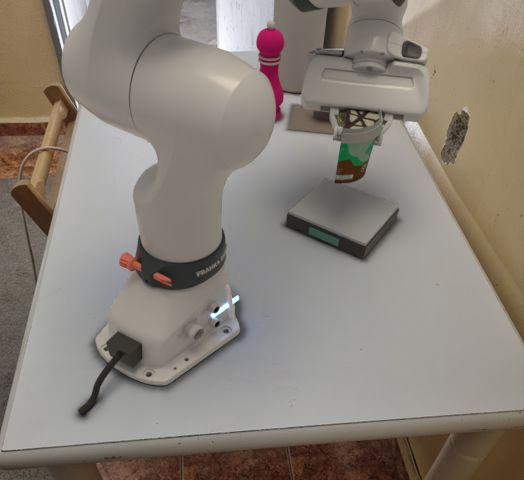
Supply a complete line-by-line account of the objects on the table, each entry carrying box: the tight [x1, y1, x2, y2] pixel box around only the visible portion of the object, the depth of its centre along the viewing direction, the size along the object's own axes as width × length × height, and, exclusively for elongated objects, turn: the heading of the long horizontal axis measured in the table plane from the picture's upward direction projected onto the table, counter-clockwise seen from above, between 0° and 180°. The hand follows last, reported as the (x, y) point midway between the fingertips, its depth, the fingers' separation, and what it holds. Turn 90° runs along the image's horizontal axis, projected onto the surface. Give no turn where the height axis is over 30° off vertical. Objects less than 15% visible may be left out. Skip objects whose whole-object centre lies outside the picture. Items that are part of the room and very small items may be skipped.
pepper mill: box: [255, 19, 285, 122], centre depth 114 cm, size 7×7×20 cm
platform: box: [288, 105, 345, 135], centre depth 119 cm, size 12×18×7 cm, turn 83°
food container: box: [334, 108, 384, 184], centre depth 85 cm, size 12×6×10 cm, turn 170°
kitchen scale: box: [285, 177, 400, 260], centre depth 96 cm, size 14×16×3 cm
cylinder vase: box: [272, 0, 328, 94], centre depth 124 cm, size 12×12×25 cm
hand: (357, 142), depth 84 cm, fingers closed on food container, 5 cm apart
